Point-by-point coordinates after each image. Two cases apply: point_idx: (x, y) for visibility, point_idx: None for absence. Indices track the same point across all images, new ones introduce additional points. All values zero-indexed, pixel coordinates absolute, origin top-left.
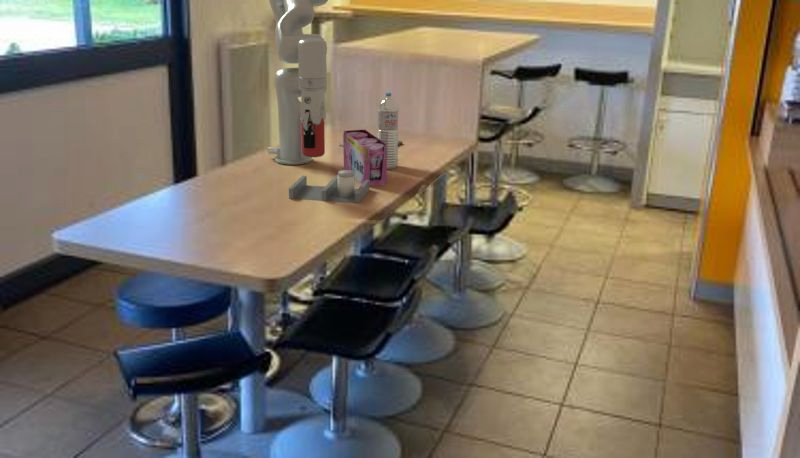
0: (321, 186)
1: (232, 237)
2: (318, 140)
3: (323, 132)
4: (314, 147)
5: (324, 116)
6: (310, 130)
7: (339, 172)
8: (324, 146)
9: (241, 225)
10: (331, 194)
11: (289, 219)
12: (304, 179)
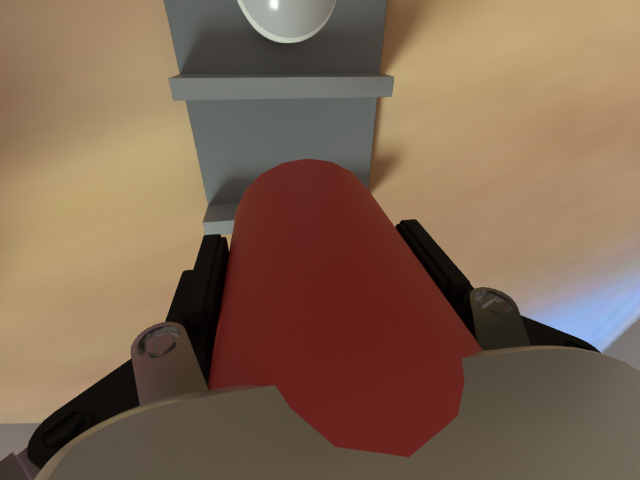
0: (199, 149)
1: (620, 221)
2: (395, 230)
3: (354, 244)
4: (416, 221)
5: (191, 476)
6: (539, 336)
7: (307, 24)
8: (292, 179)
9: (548, 235)
10: (292, 73)
11: (524, 144)
12: (231, 217)
